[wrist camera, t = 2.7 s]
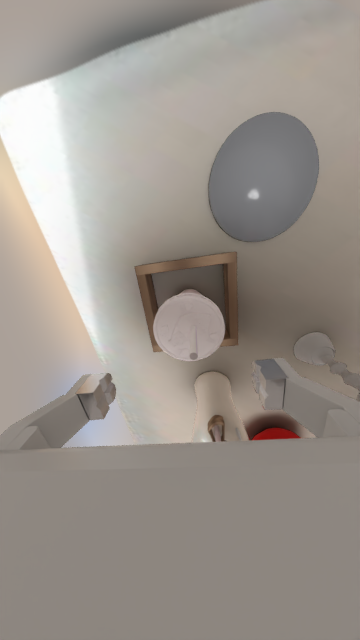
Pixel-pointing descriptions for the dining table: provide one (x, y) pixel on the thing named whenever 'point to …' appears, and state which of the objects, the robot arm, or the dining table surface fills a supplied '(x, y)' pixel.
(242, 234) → the disc
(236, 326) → the wooden serving tray
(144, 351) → the dining table surface
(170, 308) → the smoothie
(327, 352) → the chalice
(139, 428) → the dining table surface
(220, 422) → the beer glass
